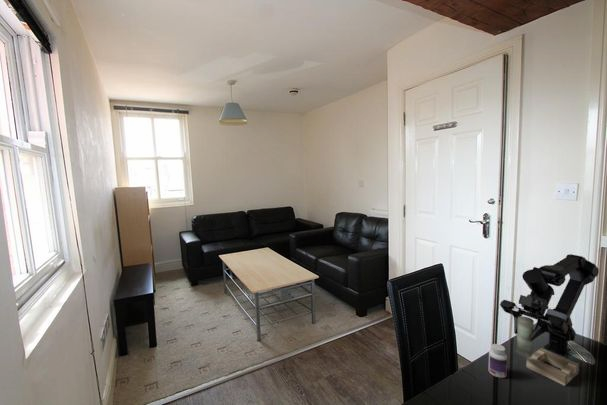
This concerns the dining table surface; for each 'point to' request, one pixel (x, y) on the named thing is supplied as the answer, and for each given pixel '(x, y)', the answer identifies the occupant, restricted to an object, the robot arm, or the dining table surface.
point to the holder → (560, 376)
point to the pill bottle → (497, 361)
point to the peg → (524, 336)
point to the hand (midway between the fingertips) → (522, 336)
